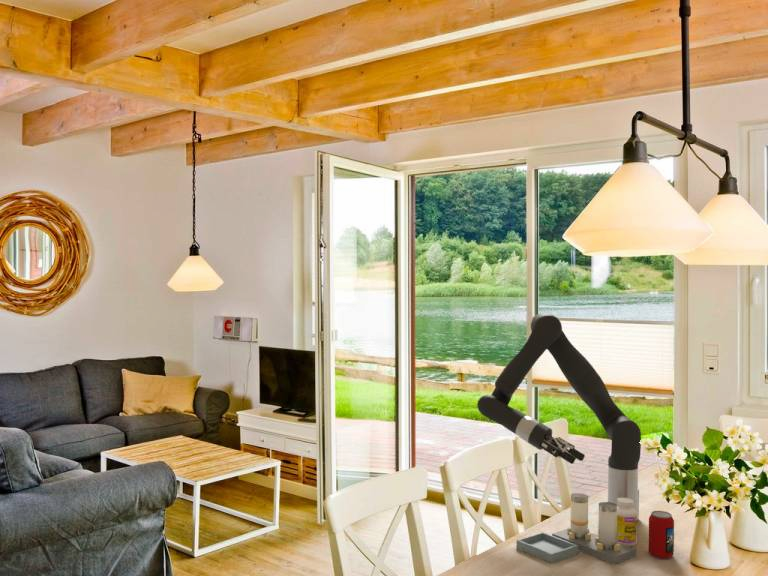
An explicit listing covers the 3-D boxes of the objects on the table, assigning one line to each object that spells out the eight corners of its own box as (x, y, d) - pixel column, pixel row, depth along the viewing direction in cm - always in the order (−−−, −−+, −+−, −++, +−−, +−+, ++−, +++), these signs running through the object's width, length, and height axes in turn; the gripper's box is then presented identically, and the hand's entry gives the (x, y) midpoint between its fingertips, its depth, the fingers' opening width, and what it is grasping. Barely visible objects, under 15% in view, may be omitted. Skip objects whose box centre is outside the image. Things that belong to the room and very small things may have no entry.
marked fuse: (577, 531, 220) (578, 492, 220) (591, 536, 216) (592, 496, 216) (566, 535, 217) (567, 495, 217) (580, 540, 213) (580, 499, 213)
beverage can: (675, 561, 203) (676, 518, 203) (650, 559, 205) (650, 516, 204) (671, 552, 210) (671, 510, 210) (646, 550, 211) (647, 509, 211)
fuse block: (573, 533, 225) (573, 521, 225) (635, 555, 207) (636, 543, 207) (552, 540, 219) (552, 528, 219) (614, 564, 201) (614, 551, 201)
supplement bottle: (623, 548, 213) (624, 504, 212) (608, 540, 219) (608, 498, 218) (641, 545, 215) (642, 501, 215) (625, 537, 221) (626, 495, 221)
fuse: (605, 541, 212) (606, 500, 212) (620, 547, 208) (620, 505, 208) (594, 545, 209) (595, 504, 209) (609, 550, 205) (609, 508, 205)
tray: (542, 540, 219) (542, 532, 219) (578, 554, 208) (578, 545, 208) (516, 548, 212) (516, 540, 212) (551, 563, 201) (551, 554, 201)
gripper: (530, 423, 224) (576, 451, 215) (546, 420, 236) (591, 447, 227) (519, 444, 225) (565, 473, 216) (537, 440, 237) (581, 467, 228)
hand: (579, 459), depth 222 cm, fingers open, 8 cm apart
